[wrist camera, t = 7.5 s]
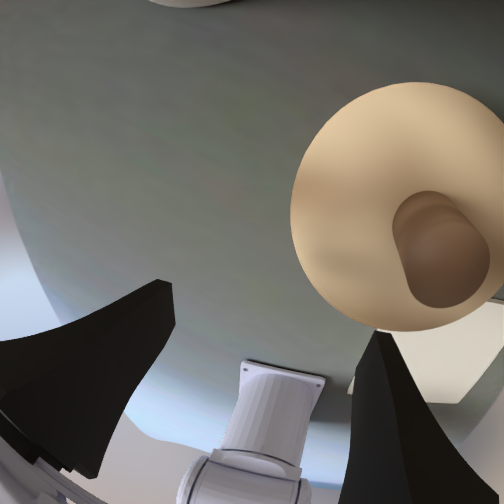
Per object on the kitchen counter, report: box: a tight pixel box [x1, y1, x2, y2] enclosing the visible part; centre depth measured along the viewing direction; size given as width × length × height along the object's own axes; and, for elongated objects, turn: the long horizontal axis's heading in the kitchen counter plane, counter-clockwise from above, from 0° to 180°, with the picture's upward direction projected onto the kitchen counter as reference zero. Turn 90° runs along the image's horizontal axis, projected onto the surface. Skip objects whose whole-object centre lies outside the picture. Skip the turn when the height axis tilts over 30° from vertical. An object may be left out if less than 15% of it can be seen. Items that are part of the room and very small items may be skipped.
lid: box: [291, 82, 504, 332], centre depth 10 cm, size 12×12×4 cm
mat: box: [347, 298, 504, 403], centre depth 21 cm, size 13×13×1 cm
